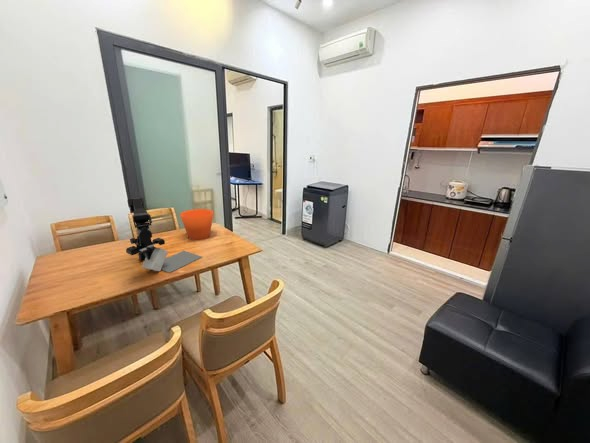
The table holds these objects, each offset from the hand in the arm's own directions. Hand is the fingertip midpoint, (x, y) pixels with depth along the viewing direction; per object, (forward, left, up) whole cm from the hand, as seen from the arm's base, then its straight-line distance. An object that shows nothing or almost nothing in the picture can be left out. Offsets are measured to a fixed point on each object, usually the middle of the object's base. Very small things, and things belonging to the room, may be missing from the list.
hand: (148, 259), depth 137 cm
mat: (-17, 0, -9) cm, 19 cm away
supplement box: (0, 0, -7) cm, 7 cm away
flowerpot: (-54, -22, -9) cm, 60 cm away
